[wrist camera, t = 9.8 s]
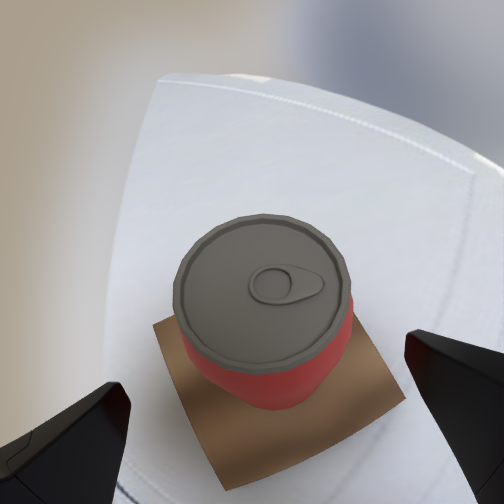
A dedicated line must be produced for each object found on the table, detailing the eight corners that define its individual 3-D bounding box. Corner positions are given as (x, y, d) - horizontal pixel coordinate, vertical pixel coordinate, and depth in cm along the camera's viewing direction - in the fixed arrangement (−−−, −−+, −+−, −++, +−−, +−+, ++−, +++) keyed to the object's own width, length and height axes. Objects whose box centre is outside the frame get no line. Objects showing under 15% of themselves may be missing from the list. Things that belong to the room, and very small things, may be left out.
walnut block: (394, 399, 18) (405, 398, 16) (232, 482, 16) (225, 491, 14) (309, 262, 25) (310, 248, 23) (164, 333, 23) (152, 325, 21)
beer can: (323, 410, 16) (378, 388, 6) (223, 408, 17) (138, 379, 7) (322, 319, 20) (352, 200, 10) (231, 319, 21) (178, 205, 11)
